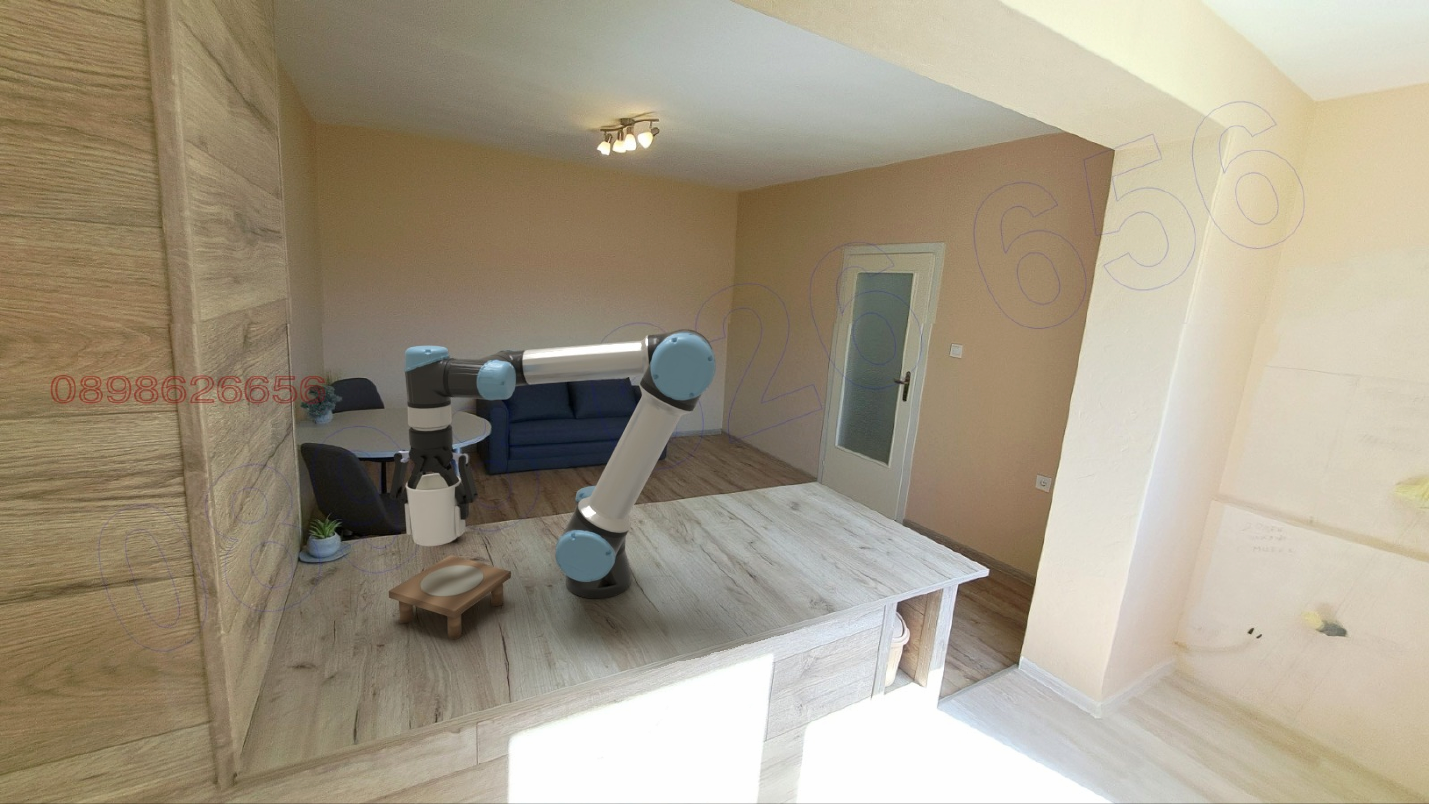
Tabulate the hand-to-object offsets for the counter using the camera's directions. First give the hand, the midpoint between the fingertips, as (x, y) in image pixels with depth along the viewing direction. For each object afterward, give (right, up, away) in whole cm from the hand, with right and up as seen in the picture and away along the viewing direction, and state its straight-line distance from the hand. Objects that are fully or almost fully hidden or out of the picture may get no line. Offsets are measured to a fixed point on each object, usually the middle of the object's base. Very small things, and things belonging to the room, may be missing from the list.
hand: (436, 532), depth 110 cm
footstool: (+2, -17, +2) cm, 17 cm away
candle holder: (0, -1, 0) cm, 1 cm away
